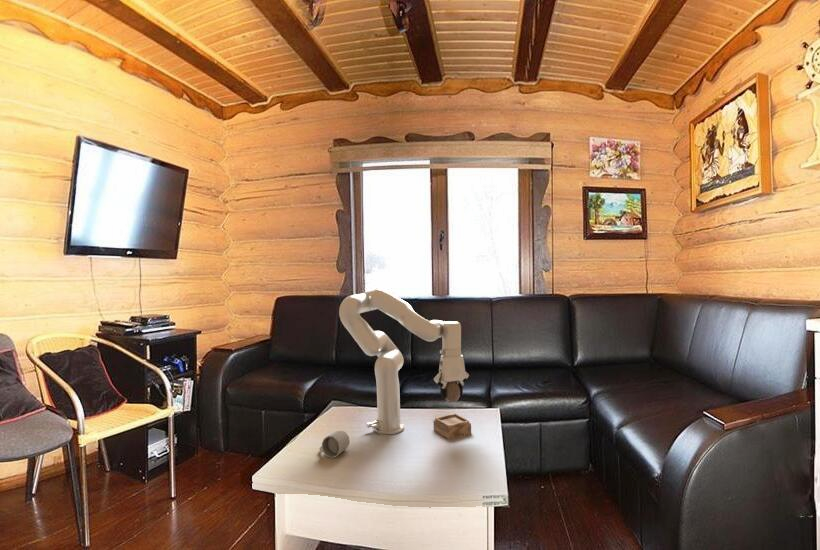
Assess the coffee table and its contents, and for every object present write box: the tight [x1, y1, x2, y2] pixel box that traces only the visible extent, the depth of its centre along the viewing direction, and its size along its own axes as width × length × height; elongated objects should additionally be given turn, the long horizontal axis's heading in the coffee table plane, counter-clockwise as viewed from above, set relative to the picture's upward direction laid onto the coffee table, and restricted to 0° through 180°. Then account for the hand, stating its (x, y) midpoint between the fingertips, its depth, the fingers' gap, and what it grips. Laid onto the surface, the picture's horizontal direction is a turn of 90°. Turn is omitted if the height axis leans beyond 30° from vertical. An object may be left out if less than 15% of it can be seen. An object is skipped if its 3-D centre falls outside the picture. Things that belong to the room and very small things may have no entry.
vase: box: [444, 381, 461, 403], centre depth 164 cm, size 7×7×9 cm
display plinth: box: [433, 413, 472, 440], centre depth 166 cm, size 11×11×5 cm
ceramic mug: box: [319, 430, 351, 459], centre depth 150 cm, size 11×8×8 cm
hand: (451, 395), depth 164 cm, fingers closed on vase, 6 cm apart
